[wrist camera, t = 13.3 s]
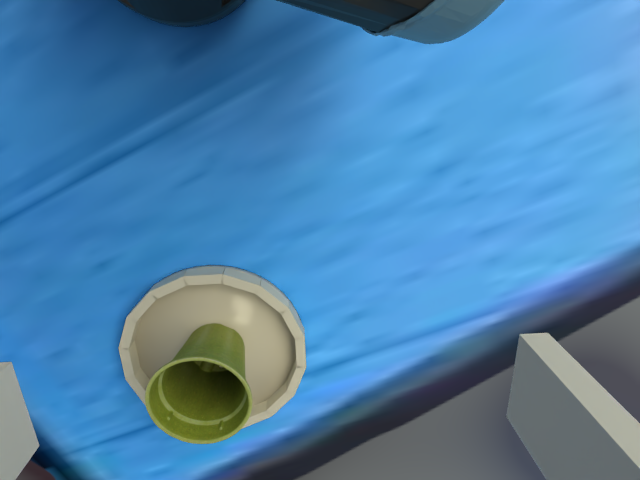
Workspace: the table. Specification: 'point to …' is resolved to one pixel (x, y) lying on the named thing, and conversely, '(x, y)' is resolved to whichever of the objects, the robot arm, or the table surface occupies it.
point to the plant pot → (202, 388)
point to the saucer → (229, 310)
